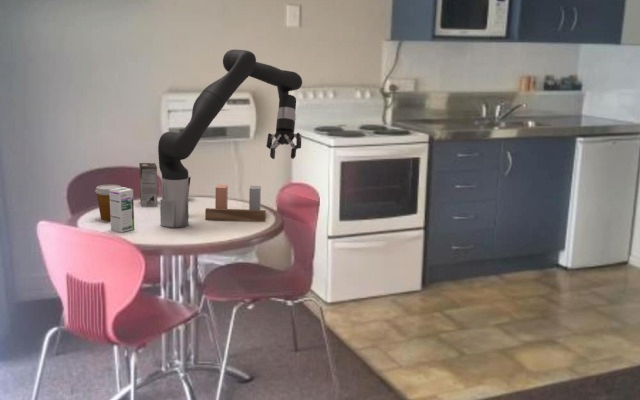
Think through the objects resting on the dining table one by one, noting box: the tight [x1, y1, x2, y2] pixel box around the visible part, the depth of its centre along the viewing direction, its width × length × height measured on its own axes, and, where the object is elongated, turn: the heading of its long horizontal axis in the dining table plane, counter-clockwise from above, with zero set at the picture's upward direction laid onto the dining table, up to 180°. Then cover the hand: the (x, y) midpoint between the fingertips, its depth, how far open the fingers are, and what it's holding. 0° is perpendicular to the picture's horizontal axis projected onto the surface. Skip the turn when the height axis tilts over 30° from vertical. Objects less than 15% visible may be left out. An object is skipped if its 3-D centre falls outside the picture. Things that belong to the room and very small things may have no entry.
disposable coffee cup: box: [94, 184, 122, 222], centre depth 245 cm, size 10×10×12 cm
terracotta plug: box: [214, 183, 229, 209], centre depth 262 cm, size 6×4×10 cm, turn 2°
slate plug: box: [248, 185, 262, 210], centre depth 262 cm, size 6×4×10 cm, turn 2°
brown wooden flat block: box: [204, 207, 267, 223], centre depth 256 cm, size 12×22×4 cm, turn 92°
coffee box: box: [139, 162, 158, 208], centre depth 269 cm, size 9×6×16 cm
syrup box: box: [109, 186, 135, 234], centre depth 231 cm, size 6×6×14 cm
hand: (282, 158), depth 272 cm, fingers open, 8 cm apart
